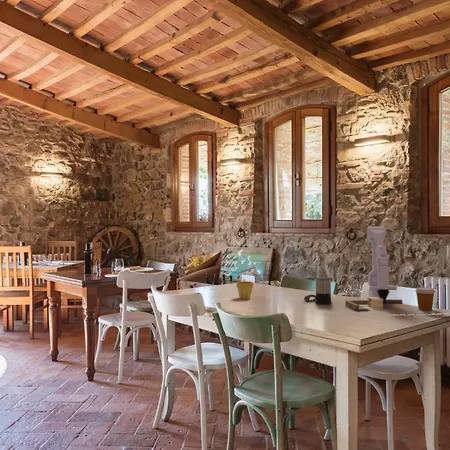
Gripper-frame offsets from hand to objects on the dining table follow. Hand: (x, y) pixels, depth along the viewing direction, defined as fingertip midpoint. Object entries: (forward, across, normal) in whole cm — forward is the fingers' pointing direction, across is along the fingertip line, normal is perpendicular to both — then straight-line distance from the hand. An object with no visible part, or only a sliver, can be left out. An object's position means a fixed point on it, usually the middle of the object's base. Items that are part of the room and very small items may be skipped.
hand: (383, 303), depth 244 cm
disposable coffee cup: (+3, +17, -12) cm, 21 cm away
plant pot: (+3, -70, +43) cm, 82 cm away
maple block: (+1, -4, 0) cm, 5 cm away
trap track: (+2, -2, 0) cm, 3 cm away
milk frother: (+3, -30, +21) cm, 37 cm away
